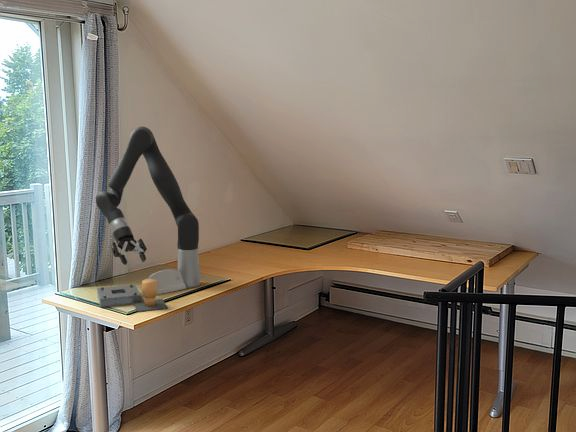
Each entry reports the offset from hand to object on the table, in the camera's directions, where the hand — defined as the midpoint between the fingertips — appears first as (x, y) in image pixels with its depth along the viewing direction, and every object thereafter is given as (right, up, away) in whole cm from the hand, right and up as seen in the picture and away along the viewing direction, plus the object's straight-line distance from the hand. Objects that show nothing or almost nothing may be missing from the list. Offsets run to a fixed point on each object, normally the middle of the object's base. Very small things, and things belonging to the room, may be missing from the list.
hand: (135, 262), depth 253 cm
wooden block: (+8, -17, -6) cm, 19 cm away
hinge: (+10, -14, +15) cm, 23 cm away
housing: (-7, -16, +2) cm, 17 cm away
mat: (+8, -17, -6) cm, 20 cm away
